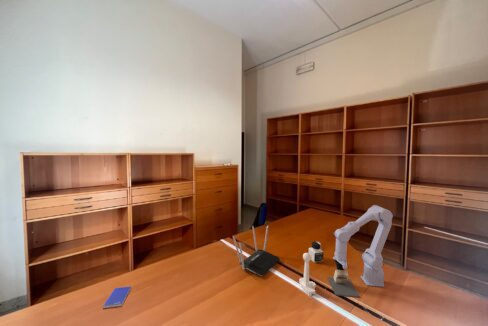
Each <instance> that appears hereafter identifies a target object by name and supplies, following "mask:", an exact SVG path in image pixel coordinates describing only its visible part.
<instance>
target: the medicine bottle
mask: <svg viewBox="0 0 488 326" xmlns="http://www.w3.org/2000/svg"><path fill="white" fill-rule="evenodd" d="M308 253H309V254H310V255H311V260H310V261H312V262H313V263H315V264H316V263H322V262H324V255H325V254H324V253H325V252H324V250H322V243H321V242H319V241H312V242H311V247H309V248H308Z"/></svg>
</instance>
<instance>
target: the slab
mask: <svg viewBox="0 0 488 326" xmlns="http://www.w3.org/2000/svg"><path fill="white" fill-rule="evenodd" d="M333 278H334V281H335V283H345V284H346V283H347V279H349V273H348V269H344V270H337V269H335V271H334V274H333Z"/></svg>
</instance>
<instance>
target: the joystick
mask: <svg viewBox="0 0 488 326" xmlns="http://www.w3.org/2000/svg"><path fill="white" fill-rule="evenodd" d="M302 259H303V261H304V269H303V277H300V278H299V280H298V282H299V285H300V288H301V290H302V291H303V292H304V293H305V294H306V295H307V296H309V297H311V296H313V295H316V290H315V289H316V283H315V282H313V281H311V280H310V262H311V261H312V260H311V255H310V254H309V252H304V253H303V255H302Z"/></svg>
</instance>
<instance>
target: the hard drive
mask: <svg viewBox="0 0 488 326" xmlns="http://www.w3.org/2000/svg"><path fill="white" fill-rule="evenodd" d="M131 289H132V287H131V286H123V287H114V289H113V290H112V292H111V293H110V294H109V296H108V298H107V299H106V301H105V302H104V303H103V306H102V309H106V308H115V307H121V306H123V304H124V302H125V300H126V298H127V297H128V295H129V293H130V291H131Z"/></svg>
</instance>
